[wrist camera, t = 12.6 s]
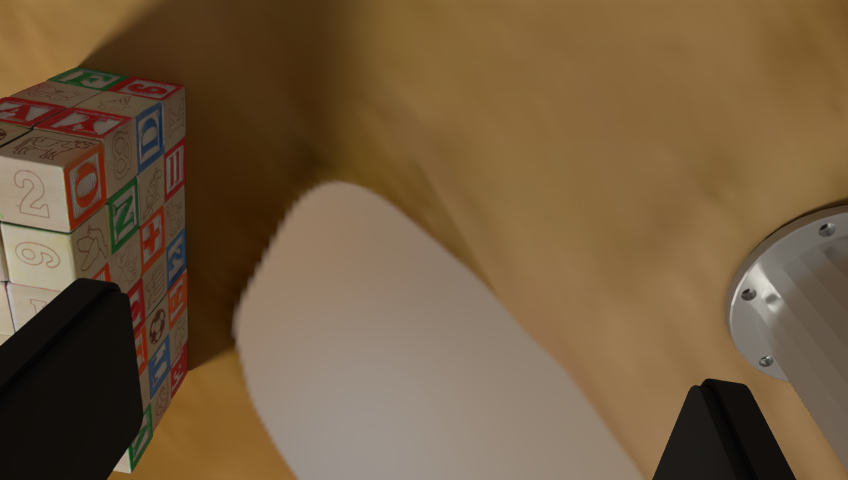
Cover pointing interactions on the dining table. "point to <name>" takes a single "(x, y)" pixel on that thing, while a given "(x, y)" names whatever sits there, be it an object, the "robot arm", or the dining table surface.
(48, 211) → the stack of blocks
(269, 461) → the dining table surface
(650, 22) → the dining table surface
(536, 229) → the dining table surface
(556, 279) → the dining table surface
